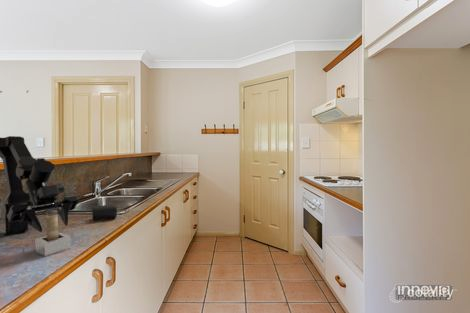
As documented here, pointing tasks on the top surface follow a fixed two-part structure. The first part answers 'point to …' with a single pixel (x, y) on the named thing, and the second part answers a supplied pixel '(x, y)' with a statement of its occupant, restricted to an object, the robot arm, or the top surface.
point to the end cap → (104, 212)
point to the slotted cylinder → (52, 225)
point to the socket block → (52, 244)
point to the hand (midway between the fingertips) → (54, 227)
